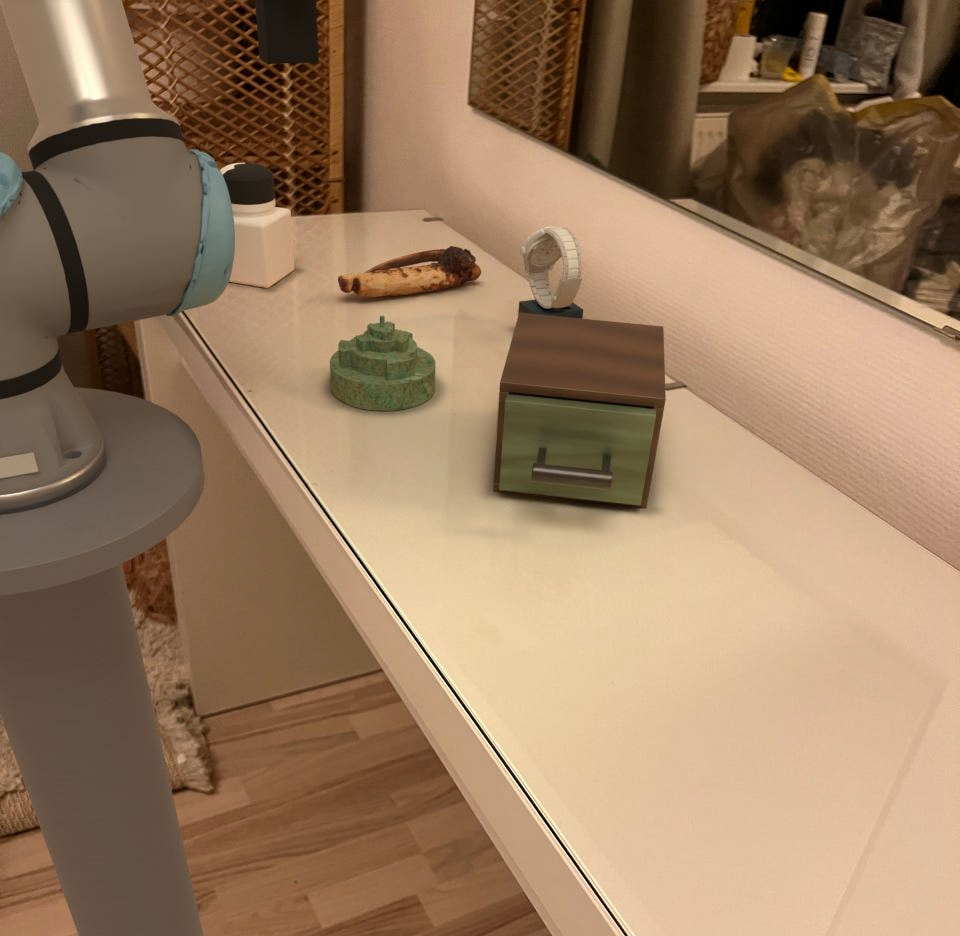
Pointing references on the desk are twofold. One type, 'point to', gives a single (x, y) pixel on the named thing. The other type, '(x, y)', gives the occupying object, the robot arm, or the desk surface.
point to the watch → (542, 256)
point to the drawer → (575, 448)
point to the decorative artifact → (382, 370)
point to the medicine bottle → (258, 227)
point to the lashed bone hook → (414, 274)
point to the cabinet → (585, 371)
